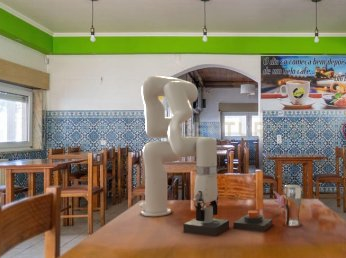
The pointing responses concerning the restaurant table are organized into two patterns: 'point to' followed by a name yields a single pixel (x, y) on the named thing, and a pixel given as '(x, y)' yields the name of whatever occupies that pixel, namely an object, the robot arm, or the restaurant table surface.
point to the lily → (279, 201)
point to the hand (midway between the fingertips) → (207, 217)
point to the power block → (253, 223)
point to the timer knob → (208, 214)
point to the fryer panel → (206, 227)
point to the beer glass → (292, 204)
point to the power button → (253, 214)
